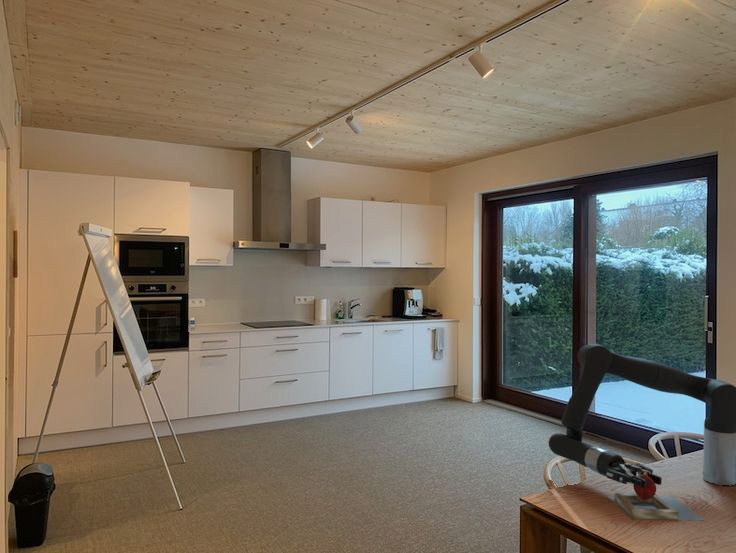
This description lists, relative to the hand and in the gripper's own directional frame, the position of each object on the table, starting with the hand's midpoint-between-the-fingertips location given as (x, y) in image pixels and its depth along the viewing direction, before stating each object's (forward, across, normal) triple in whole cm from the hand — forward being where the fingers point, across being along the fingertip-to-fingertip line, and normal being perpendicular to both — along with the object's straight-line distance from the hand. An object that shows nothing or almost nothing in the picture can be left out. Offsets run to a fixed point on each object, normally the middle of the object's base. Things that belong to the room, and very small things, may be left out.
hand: (653, 482), depth 153 cm
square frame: (-2, 0, +8) cm, 9 cm away
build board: (-2, +3, +10) cm, 11 cm away
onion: (-3, 0, +6) cm, 7 cm away
